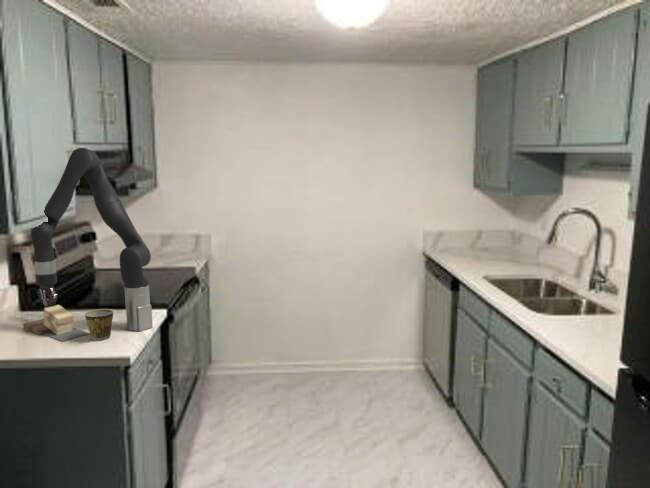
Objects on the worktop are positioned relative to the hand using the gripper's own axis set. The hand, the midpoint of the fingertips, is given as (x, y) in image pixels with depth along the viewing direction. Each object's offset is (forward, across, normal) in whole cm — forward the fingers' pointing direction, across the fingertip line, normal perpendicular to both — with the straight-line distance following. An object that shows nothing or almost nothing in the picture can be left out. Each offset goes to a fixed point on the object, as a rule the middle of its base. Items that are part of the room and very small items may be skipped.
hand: (49, 314), depth 219 cm
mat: (+6, -12, -1) cm, 13 cm away
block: (+4, -6, 0) cm, 7 cm away
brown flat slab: (+6, +2, 0) cm, 7 cm away
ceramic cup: (+6, -28, -5) cm, 29 cm away
